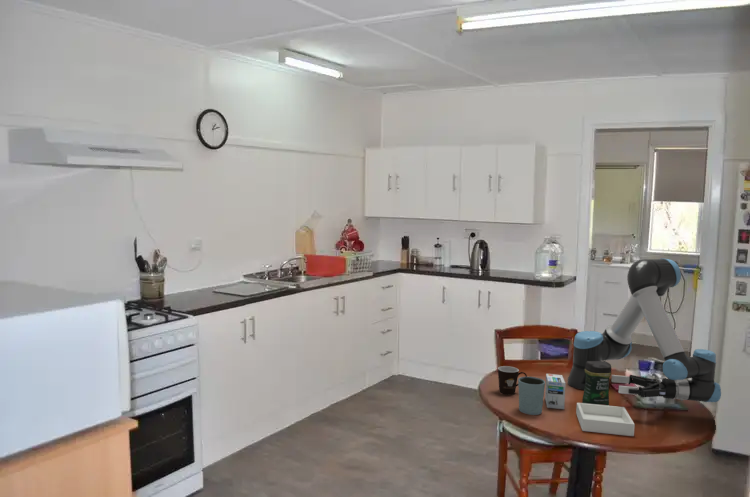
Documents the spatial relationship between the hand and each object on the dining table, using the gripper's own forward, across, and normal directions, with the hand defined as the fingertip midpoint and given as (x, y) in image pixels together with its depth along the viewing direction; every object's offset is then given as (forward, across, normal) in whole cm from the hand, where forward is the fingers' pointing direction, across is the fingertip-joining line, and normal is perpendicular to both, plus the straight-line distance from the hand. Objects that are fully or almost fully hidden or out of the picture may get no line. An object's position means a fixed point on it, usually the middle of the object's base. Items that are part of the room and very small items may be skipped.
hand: (615, 383), depth 226 cm
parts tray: (+7, -17, -10) cm, 21 cm away
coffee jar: (+7, +1, -11) cm, 12 cm away
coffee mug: (+39, +9, -11) cm, 41 cm away
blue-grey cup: (+32, -10, -11) cm, 35 cm away
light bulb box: (+22, 0, -11) cm, 25 cm away
